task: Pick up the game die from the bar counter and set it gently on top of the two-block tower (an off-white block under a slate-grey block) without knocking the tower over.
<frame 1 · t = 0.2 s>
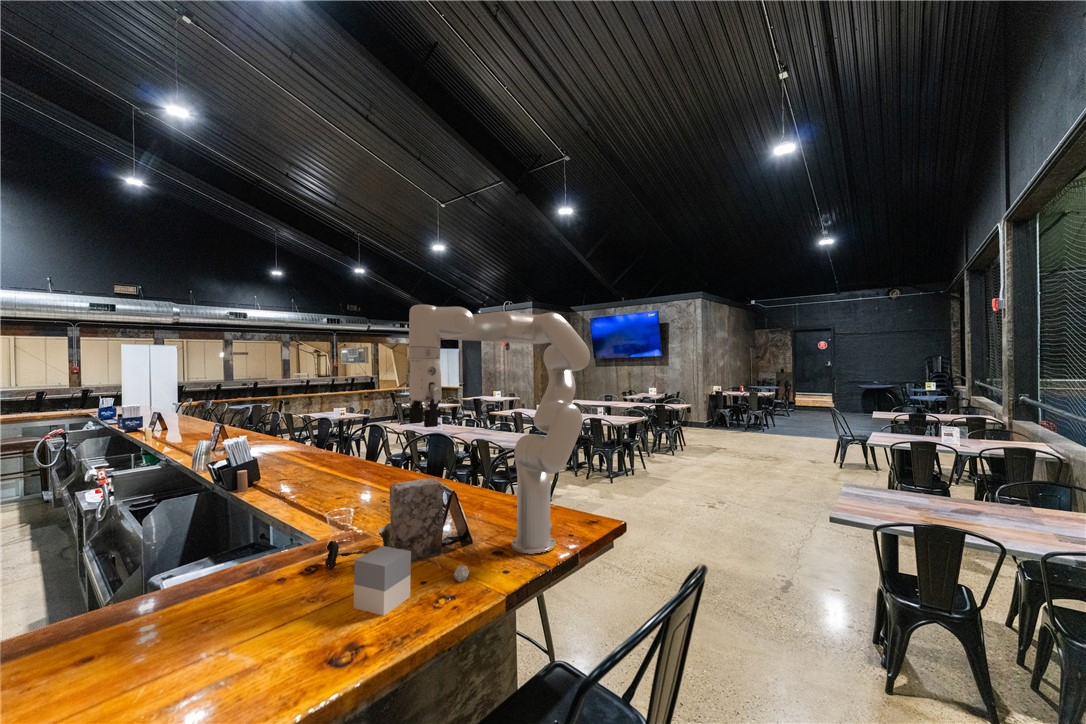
hand: (423, 424, 104), 36 cm above the bar counter, tool pointing down, fingers open, 9 cm apart
artificial flower: (370, 555, 115), on the bar counter
game die: (461, 580, 101), on the bar counter
upper block: (383, 579, 91), point 5 cm above the bar counter, touching lower block
lower block: (382, 602, 91), on the bar counter, touching upper block
stone block: (416, 558, 113), on the bar counter
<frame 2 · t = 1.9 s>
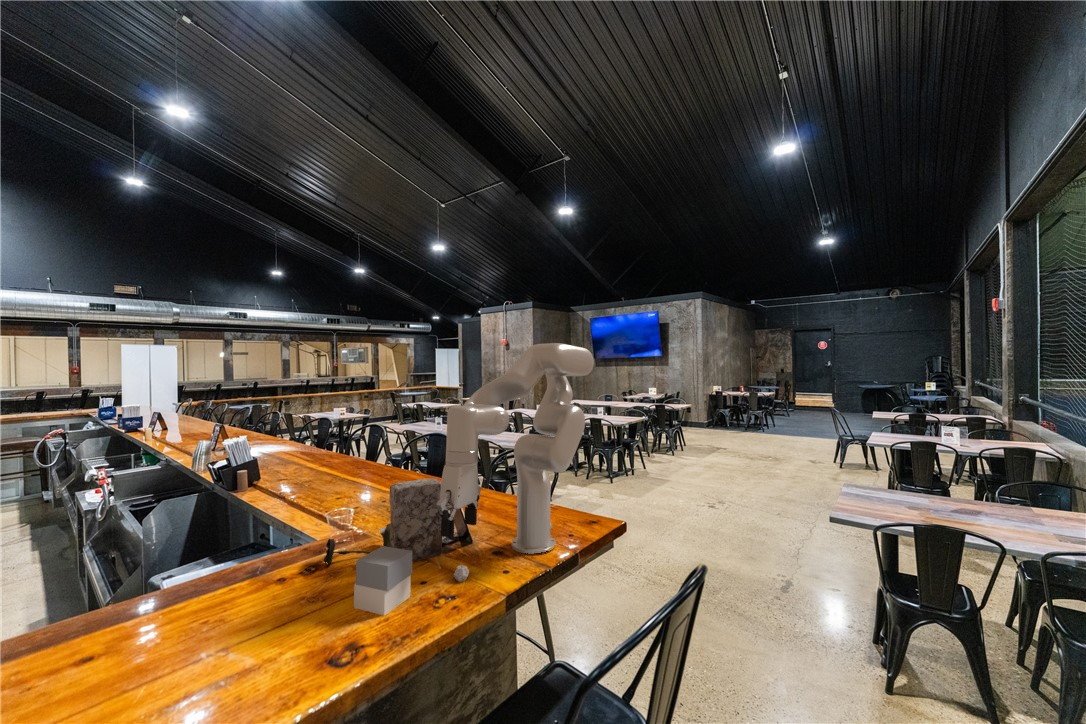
hand: (459, 530, 101), 12 cm above the bar counter, tool pointing down, fingers open, 9 cm apart
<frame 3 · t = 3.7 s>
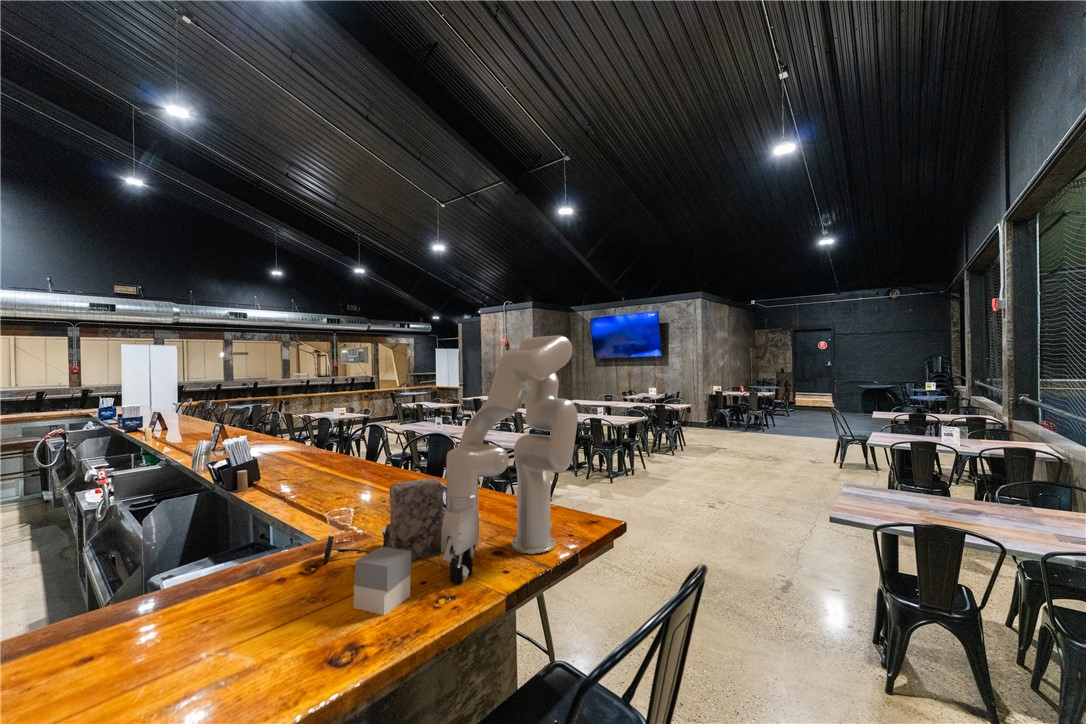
hand: (461, 578, 101), 0 cm above the bar counter, tool pointing down, fingers closed on game die, 3 cm apart
game die: (461, 580, 101), on the bar counter, touching gripper
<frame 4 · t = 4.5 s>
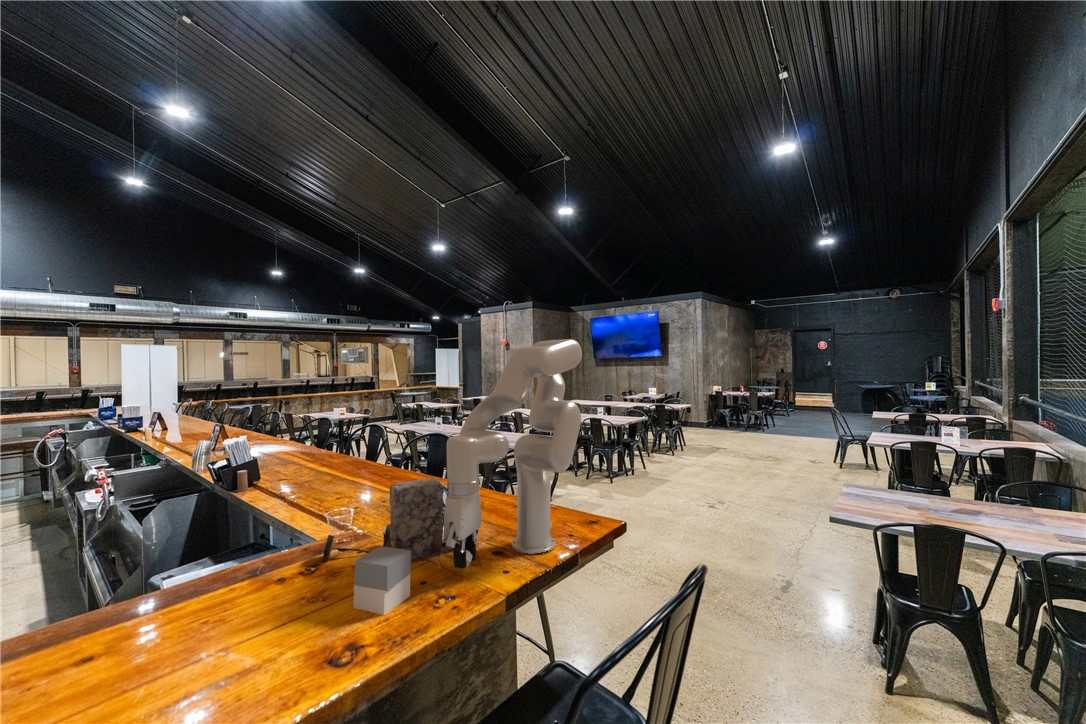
hand: (465, 562, 102), 3 cm above the bar counter, tool pointing down, fingers closed on game die, 3 cm apart
game die: (465, 565, 102), point 3 cm above the bar counter, touching gripper
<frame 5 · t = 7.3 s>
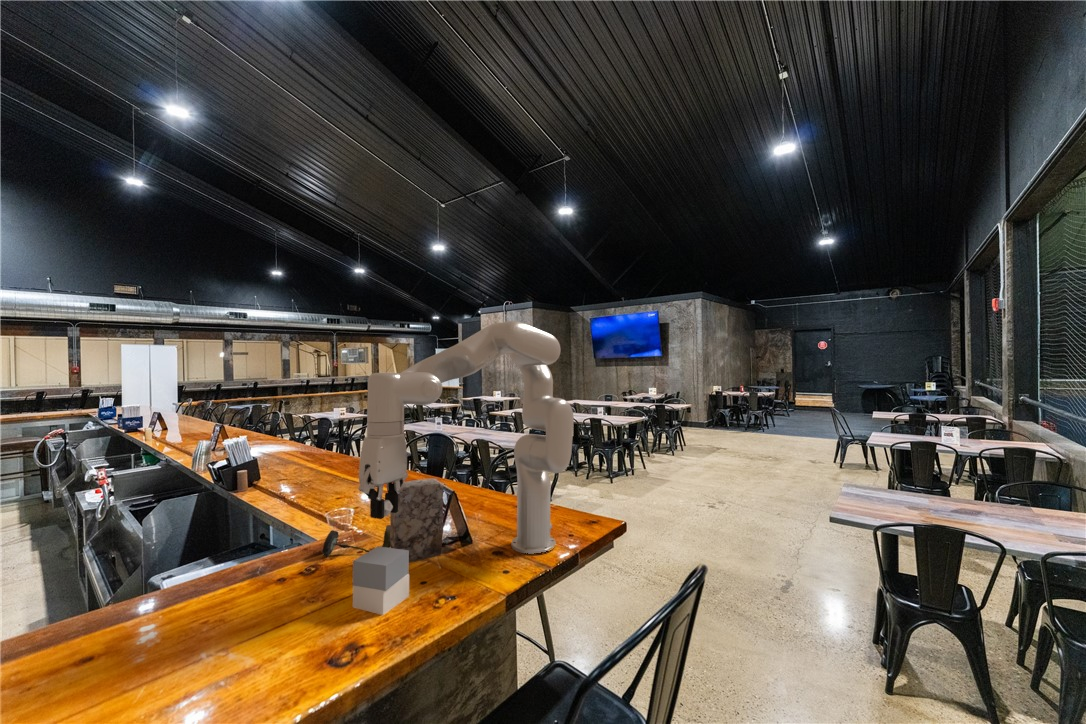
hand: (384, 514, 91), 19 cm above the bar counter, tool pointing down, fingers closed on game die, 3 cm apart
game die: (384, 516, 91), point 18 cm above the bar counter, touching gripper
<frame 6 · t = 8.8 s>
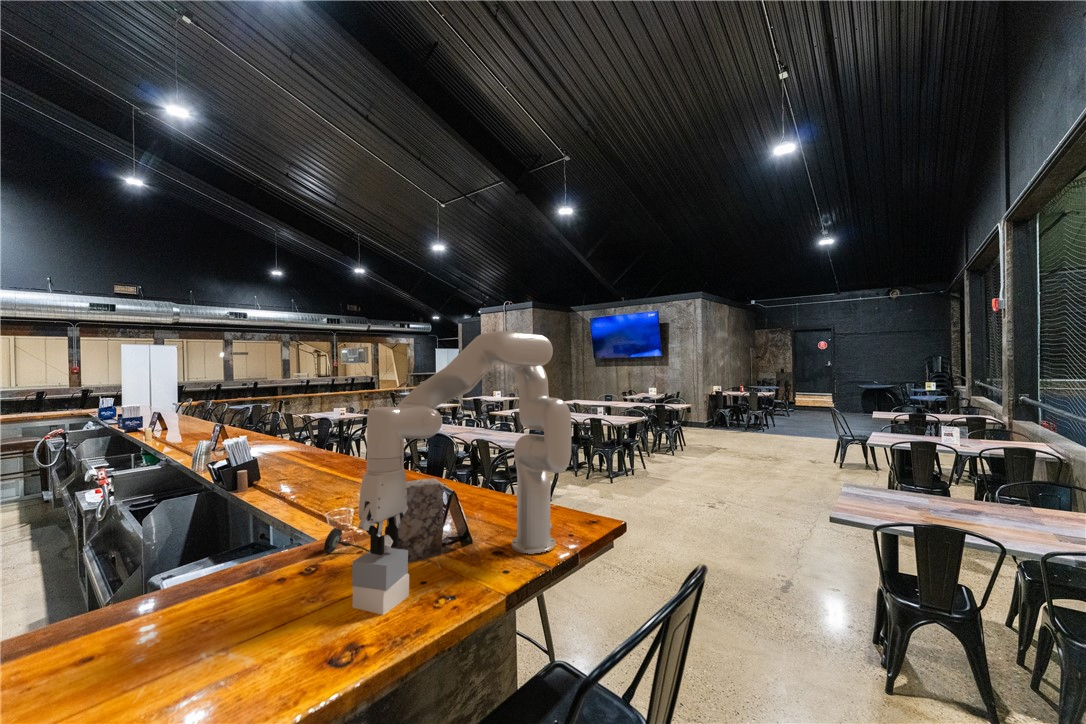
hand: (384, 549, 91), 11 cm above the bar counter, tool pointing down, fingers closed on game die, 3 cm apart
game die: (384, 551, 91), point 11 cm above the bar counter, touching gripper
when the fingers open (11 cm above the bar counter, at t = 9.5 s): game die stays where it is, resting on upper block.
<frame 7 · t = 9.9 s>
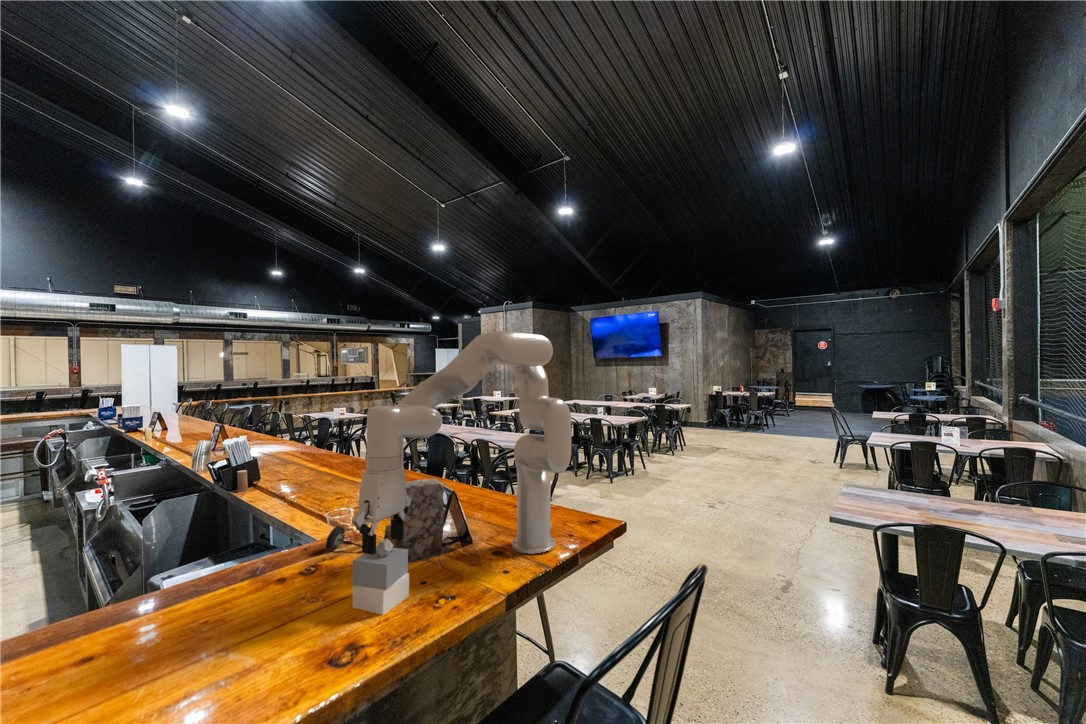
hand: (383, 545, 91), 12 cm above the bar counter, tool pointing down, fingers open, 7 cm apart
game die: (384, 555, 91), point 10 cm above the bar counter, touching upper block
upper block: (380, 578, 91), point 5 cm above the bar counter, touching game die
lower block: (381, 602, 91), on the bar counter
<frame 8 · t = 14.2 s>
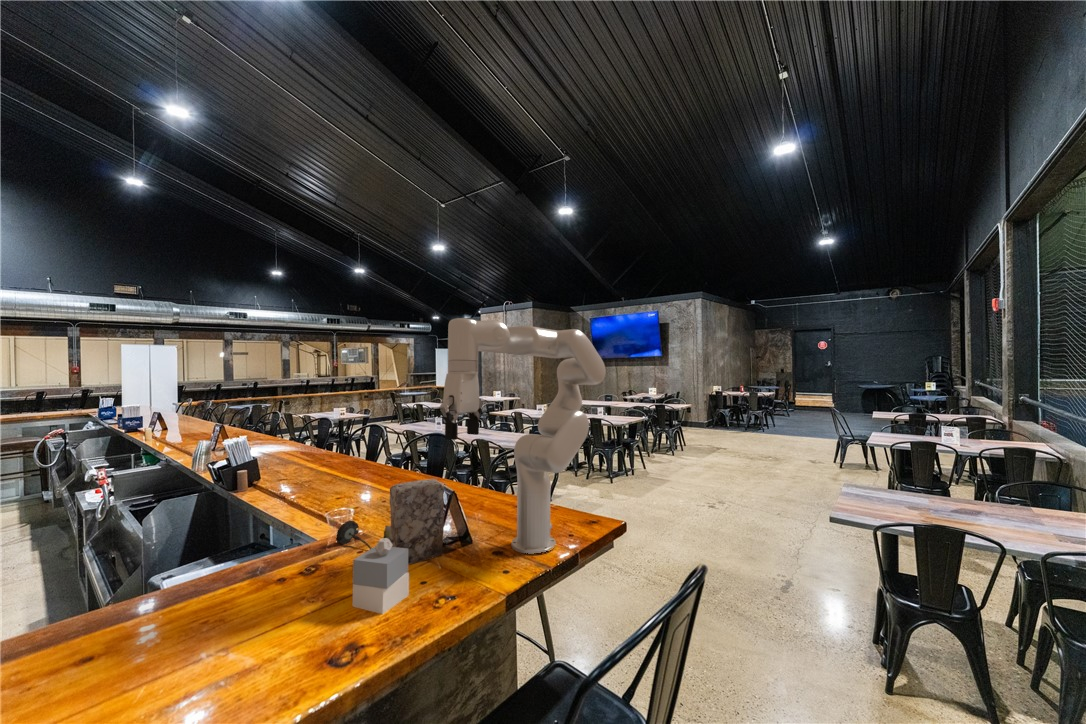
hand: (462, 436, 105), 33 cm above the bar counter, tool pointing down, fingers open, 9 cm apart
artificial flower: (375, 549, 119), on the bar counter
upper block: (381, 577, 91), point 5 cm above the bar counter, touching game die, lower block
lower block: (381, 601, 91), on the bar counter, touching upper block
at the end: game die 0.4 cm off-centre on the upper block, point 4.8 cm above the upper block's base; upper block 0.1 cm off-centre on the lower block, point 5.0 cm above the lower block's base; the gripper is holding nothing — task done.
